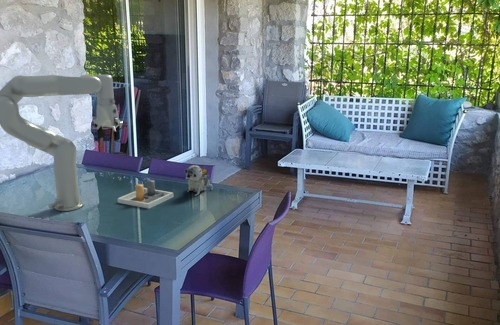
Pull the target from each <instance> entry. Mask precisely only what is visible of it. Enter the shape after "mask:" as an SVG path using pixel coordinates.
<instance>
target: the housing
mask: <svg viewBox="0 0 500 325" xmlns="http://www.w3.org/2000/svg"><path fill="white" fill-rule="evenodd" d="M155 194H156V195H155V196H153V197H151V196H147V187H144V198H145V199H146V200H144V201H142V202H139V201H135V199H136V190H134V191H132V192H129V193H127V194H125V195H122V196H120V197H118V198H117V203H118V204H124V205H128V206H134V207H140V208H142V209H147V210H148V209H151V208H154V207H155V206H158V205H160V204H162V203H164V202H166V201H168V200H170V199H172V198H174V192H172V191H165V190H159V189H155Z"/></svg>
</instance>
